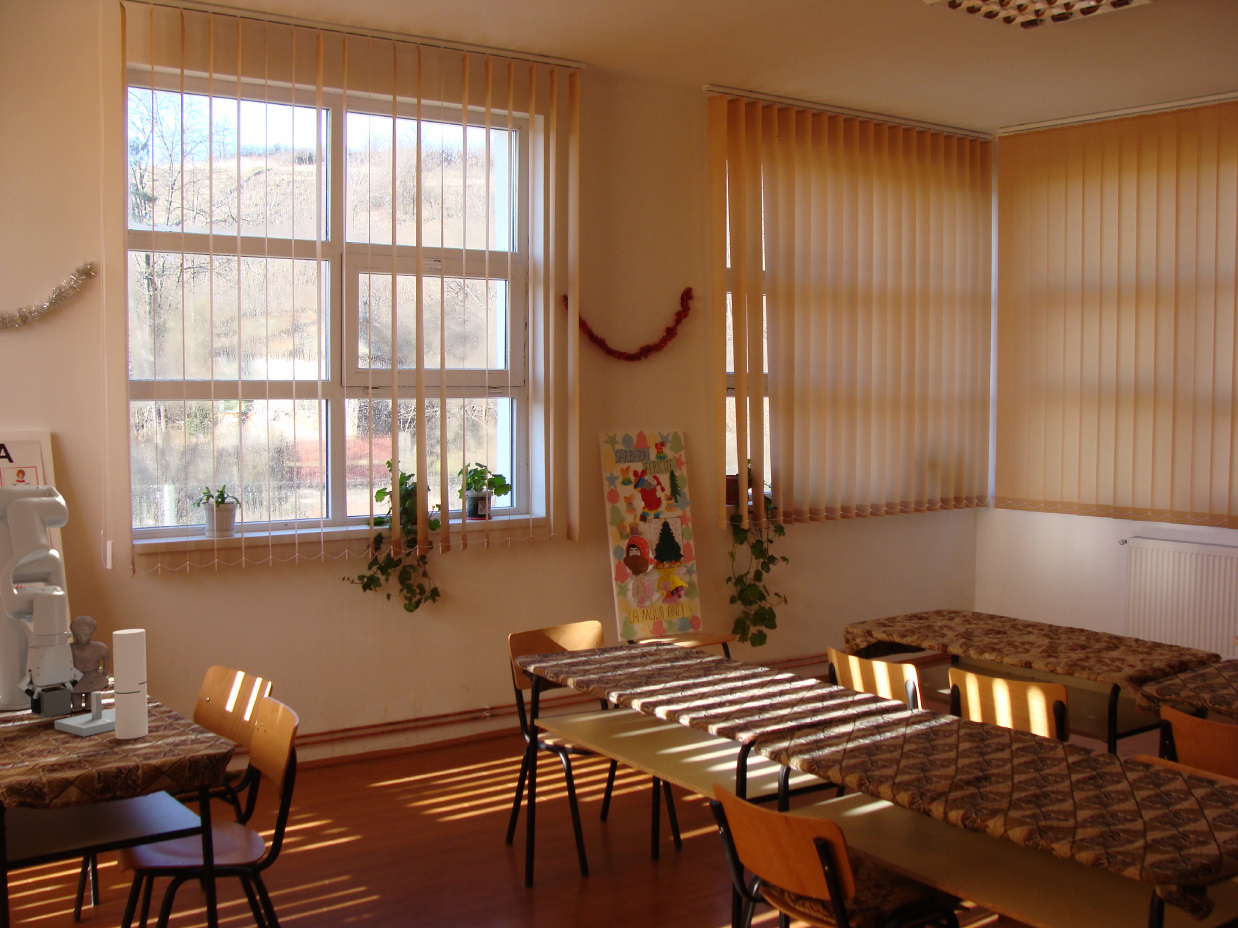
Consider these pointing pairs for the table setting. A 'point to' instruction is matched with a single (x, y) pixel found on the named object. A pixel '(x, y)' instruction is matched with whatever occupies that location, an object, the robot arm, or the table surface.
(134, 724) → the cylindrical container
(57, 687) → the square tunnel housing
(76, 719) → the shaft base
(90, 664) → the clay figurine
